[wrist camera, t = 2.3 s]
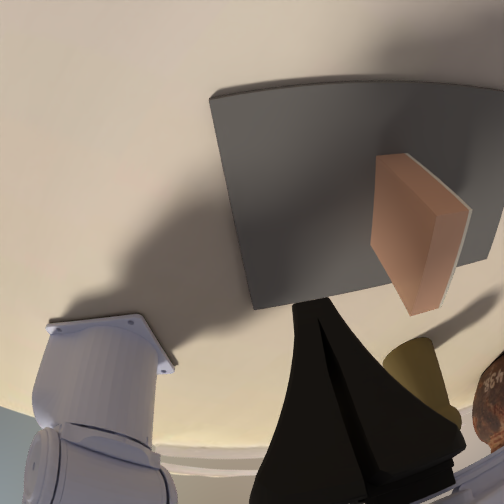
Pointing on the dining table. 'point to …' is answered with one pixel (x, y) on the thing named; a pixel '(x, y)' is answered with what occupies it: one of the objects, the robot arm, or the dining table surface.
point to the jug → (490, 406)
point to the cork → (421, 375)
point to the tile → (417, 230)
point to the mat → (348, 175)
